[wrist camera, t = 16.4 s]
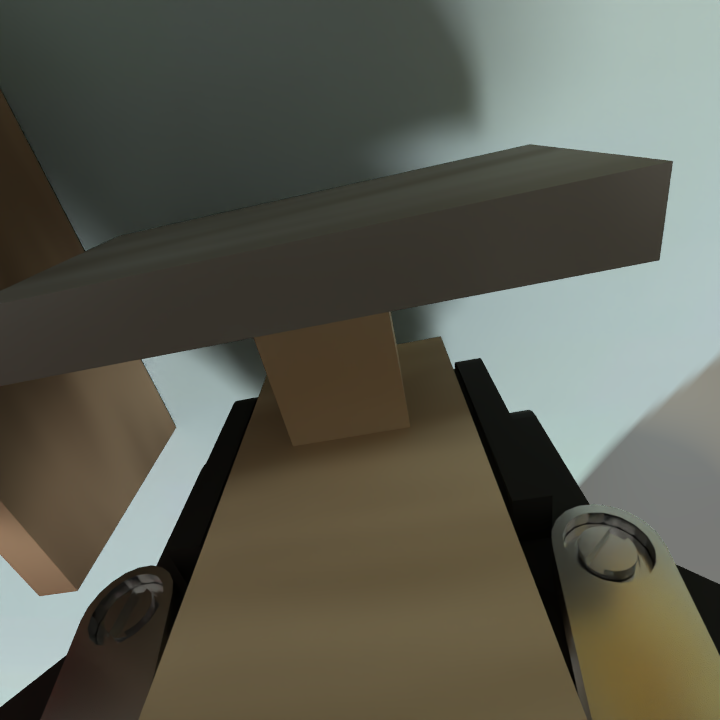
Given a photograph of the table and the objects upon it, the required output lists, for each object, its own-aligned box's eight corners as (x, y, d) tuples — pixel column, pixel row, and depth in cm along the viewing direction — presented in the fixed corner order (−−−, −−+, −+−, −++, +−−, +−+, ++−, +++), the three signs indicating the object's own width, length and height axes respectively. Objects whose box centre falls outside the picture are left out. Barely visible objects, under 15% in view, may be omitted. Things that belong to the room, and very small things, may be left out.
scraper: (119, 235, 8) (-519, 531, 2) (529, 144, 8) (1210, 223, 2) (244, 500, 12) (123, 892, 6) (533, 456, 11) (742, 854, 5)
